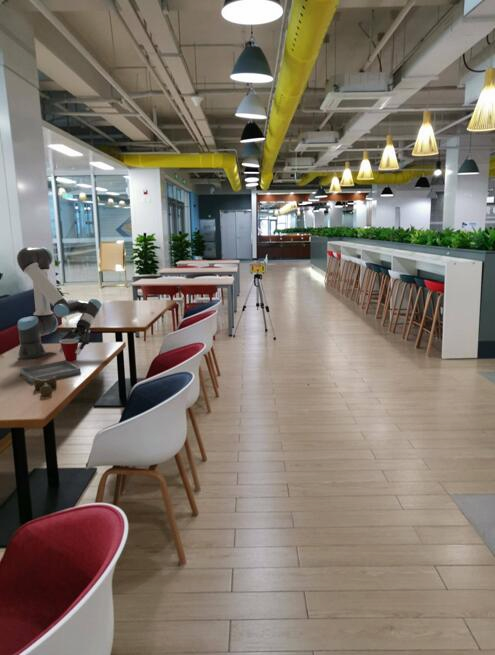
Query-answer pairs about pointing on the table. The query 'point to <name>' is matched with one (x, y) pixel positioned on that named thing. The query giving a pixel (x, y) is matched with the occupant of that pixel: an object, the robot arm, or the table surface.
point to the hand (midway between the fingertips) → (68, 353)
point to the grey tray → (50, 371)
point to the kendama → (45, 385)
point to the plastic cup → (69, 349)
